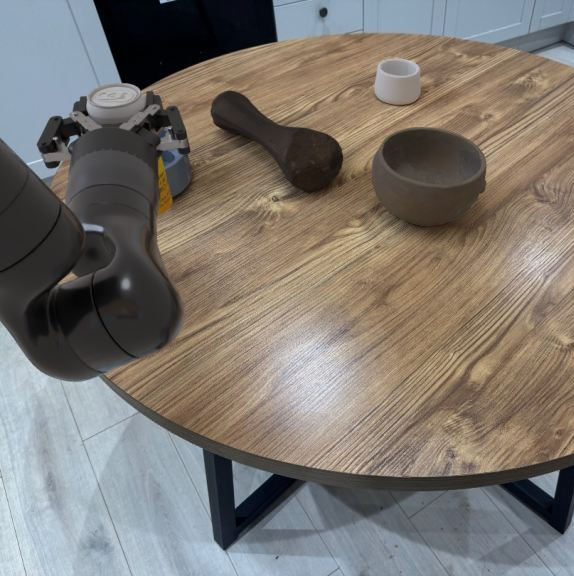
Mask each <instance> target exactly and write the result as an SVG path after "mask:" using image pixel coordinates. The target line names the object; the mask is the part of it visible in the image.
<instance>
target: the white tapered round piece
mask: <svg viewBox="0 0 574 576" xmlns="http://www.w3.org/2000/svg"><path fill="white" fill-rule="evenodd" d="M373 89H374V90H373V91H374V95H375V96H376V98H377V99H378V100H380V101H381V102H383V103H385V104H389V105H395V106H402V105H403V106H405V105H409V104H413V103H414V102H416V101H417V100H418V99H419V98H420V96H421V91H422V90H421V89H422V87H421V68H420V66H419V65H418V63H416V62H414V61H413V60H409V59H406V58H389V59H385V60H383V61H381V62H379V63H378V65H377V69H376V75H375V81H374V88H373Z"/></svg>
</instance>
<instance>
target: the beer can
mask: <svg viewBox="0 0 574 576" xmlns="http://www.w3.org/2000/svg"><path fill="white" fill-rule="evenodd" d="M86 96H87V105H86V110H87V113H88V116H89V117H90V118H91V119H92V120H93V121H94V122H96V123H97V124H98V125H100V124H118V123H123V122H128V121H129V120H130V119H131V118H132V117H133V116H134V115H135V114H136V113H137V112H144V111H145V110H146V109H147V106H146V96H145V95H144V94H143V93H142V91H141V89H140V88H139V87H138V86H136V85H134V84H131V83H124V82H114V83H107V84H103V85H99V86H97V87H95V88H93V89H91V90H90V91H89V92H88V93H87V95H86ZM158 176H159V189H160V201H159V211H158V216H157V220H159V219H162V217H164V216H166V214H167V213H168V212H169V210H170V209H171V207H172V205H173V201H174V200H173V197H172V196H171V192H170V188H169V184H168V180H167V177H166V173H165V169H164V165H163V161H162V157H160V158H159V159H158Z"/></svg>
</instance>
